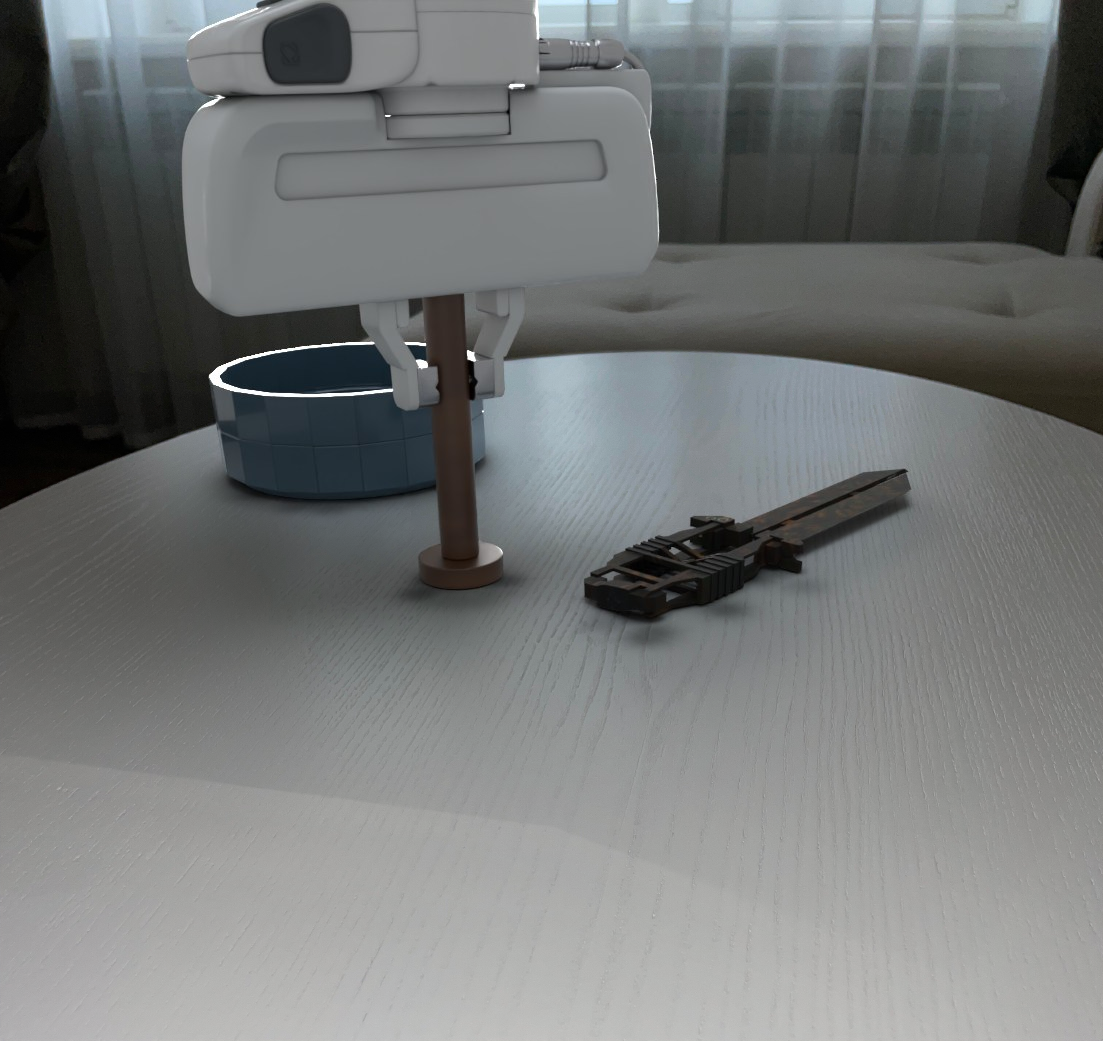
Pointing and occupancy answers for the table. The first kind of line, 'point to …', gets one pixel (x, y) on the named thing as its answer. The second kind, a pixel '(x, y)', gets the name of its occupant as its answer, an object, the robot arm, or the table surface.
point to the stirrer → (454, 457)
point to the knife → (721, 532)
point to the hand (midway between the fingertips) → (449, 401)
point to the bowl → (325, 424)
